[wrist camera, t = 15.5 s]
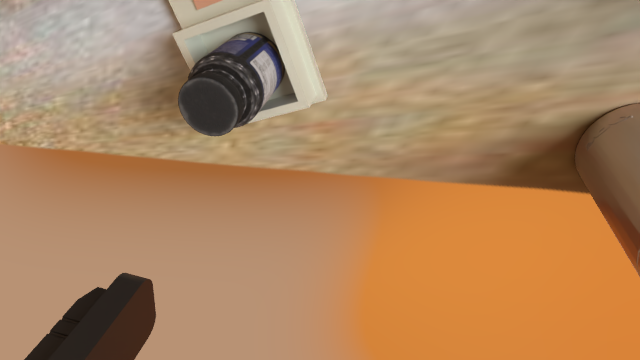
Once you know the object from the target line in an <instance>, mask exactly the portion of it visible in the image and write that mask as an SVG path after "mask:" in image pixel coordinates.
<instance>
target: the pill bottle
mask: <svg viewBox="0 0 640 360" xmlns="http://www.w3.org/2000/svg"><path fill="white" fill-rule="evenodd" d="M284 73H285V65H284V63H283V60H282V57H281V55H280V52H279V50H278V47H277V45H276V44H275V43H274V42H273V41H271V40H270V39H269V38H267V37H266V36H264V35H262V34H259V33H256V32H244V33H240V34H237V35H235V36H234V37H232V38H231V39H229V40H228V41H227V42H225V43H223V44H222V45H221V46H219V47H218V48H216V49H215V50H213V51H212V52H210V53H209V54H207V55H206V56H205V57H203V58H201V59H200V60H199V61H198V62H197V63H196V64H195V65H194V67H193V68H192V70H191V72H190V74H189V77H188V81H187V82H186V83H185V84H184V85H183V86H182V88H181V90H180V92H179V97H178V104H179V108H180V112H181V114H182V116H183V117H184V119H185V120H186V122H187V123H188V124H189V125H190V126H191V127H192V128H194V129H195V130H196V131H198V132H200V133H202V134H205V135H209V136H221V135H224V134H226V133H228V132H230V131H231V130H232V129H233V128H236V127H240V126H243V125H245V124H247V123H248V122H250V121H251V120H252V119H253V118H254V117H255V116H256V115H257V113H258V112H259V111H260V109H261V108H262V107H263V106H264V104H265V103H266V102H267V101H268V99H269V98H270V97H271V96H272V94H273V93H274V92H275V90H276V89H277V88H278V87H279V85H280V84H281V82H282V80H283V77H284Z"/></svg>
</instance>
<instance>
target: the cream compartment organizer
mask: <svg viewBox="0 0 640 360" xmlns="http://www.w3.org/2000/svg"><path fill="white" fill-rule="evenodd" d="M168 1H169V3H170V5H171V7H172V9H173V11H174V13H175V15H176V18H177V20H178V22H179V24H180V26H181V28H182V29H181V30H179V31H177V32H175V33H173V34H172V35H173V37H174V39H175V41H176V43H177V45H178V47H179V49H180V51H181V53H182V55H183V57H184V59H185V61H186V63H187V65H188V67H189V69H190V71H191V70H192V68H193V67H194V65H195V64H196V63H197V62H198V61H199V60H200V59H201V58H203V57H205V56H206V55H207V54H209V53H210V52H212V51H213V50H215V49H216V48H218V47H219V46H221V45H222V44H223V43H225V42H227V41H228V40H229V39H231V38H232V37H234V36H235V35H237V34H240V33H244V32H256V33H259V34H262V35H264V36H266V37H267V38H269V39H270V40H271V41H273V42H274V43H275V44H276V45H277V47H278V50H279V52H280V55H281V57H282V60H283V63H284V65H285V73H284V77H283V80H282V82H281V84H280V85H279V87H278V88H277V89H276V90H275V92H274V93H273V94H272V96H271V97H270V98H269V99H268V101H267V102H266V103H265V104H264V106H263V107H262V108H261V109H260V111H259V112H258V113H257V115H256V116H255V117H254V118H253V119H252V120H251V121H250V122H248V123H251V122H255V121H259V120H263V119H267V118H270V117H274V116H278V115H282V114H286V113H290V112H293V111H297V110H301V109H305V108H309V107H310V105H311V104H313V103H317V102H321V101H325V100H326V98H327V96H328V95H327V92H326V89H325V87H324V84H323V81H322V78H321V75H320V72H319V69H318V66H317V63H316V60H315V58H314V55H313V52H312V49H311V46H310V43H309V40H308V37H307V34H306V32H305V29H304V26H303V23H302V20H301V17H300V14H299V11H298V8H297V5H296V3H295V0H168Z"/></svg>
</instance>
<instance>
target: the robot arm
mask: <svg viewBox="0 0 640 360" xmlns="http://www.w3.org/2000/svg"><path fill="white" fill-rule="evenodd" d="M575 165H576V168H577V171H578V173H579V175H580V177H581V178H582V180H583V182H584V183H585V185H586V187H587V188H588V190H589V192H590V193H591V196H592V197H593V199H594V200H595V202H596V204H597V206H598V207H599V209H600V211H601V212H602V214H603V216H604V217H605V219H606V221H607V222H608V224H609V225H610V227H611V229H612V231H613V232H614V234H615V236H616V237H617V239H618V241H619V243H620V244H621V246H622V248H623V249H624V251H625V253H626V254H627V256H628V258H629V259H630V261H631V263H632V264H633V266H634V268H635V269H636V271H637V272H638V274H639V276H640V103H639V104H632V105H628V106H625V107H621V108H618V109H616V110H614V111H612V112H609V113H607V114H606V115H604V116H603V117H601V118H600V119H598V120H597V121H595V122H594V123H593V124H592V125H591V126H590V127H589V128H588V129H587V130H586V132H585V133H584V134H583V136H582V137H581V139H580V141H579V143H578V145H577V147H576V153H575ZM155 318H156V312H155V302H154V293H153V284H152V281H151V280H150V279H146V278H143V277H139V276H135V275H131V274H128V273H122V274H120V275H119V276H118V277H117V278H116V279H115V280H114V282H113V283H112V284H111V285H110V286H109V288H108V289H107V290H106V289H103V288H99V287H97V288H96V289H94V290H92V291H91V292H89V293H88V294H86V295H84V296H83V297H82V298H80V299H78V300H77V301H76V302H75V303H74V304H73V306H72V307H71V308H70V309H69V310H68V311H67V312H66V313H65V315H64V316H63V318H62V320H59V321H58V322H57V323H56V325H55V326H54V327H53V328H52V329H51V331H50V333H49V334H47V335H46V336H45V337H44V338H43V339H42V340H41V341H40V343H39V344H38V345H37V346H36V347H35V348H34V349H33V350H32V352H31V353H30V354H29V355H28V356H27V357H26V358H25V359H24V360H134V359H135V357H136V356H137V354H138V353H139V351H140V350H141V348H142V347H143V345H144V344H145V342H146V340H147V339H148V337H149V335H150V334H151V331H152V329H153V326H154V323H155Z"/></svg>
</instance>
